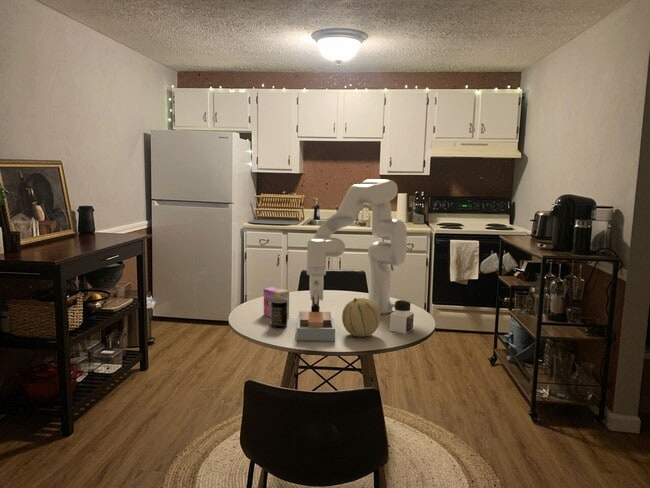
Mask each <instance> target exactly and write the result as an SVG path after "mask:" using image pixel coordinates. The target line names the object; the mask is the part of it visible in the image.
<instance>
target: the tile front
mask: <svg viewBox="0 0 650 488" xmlns="http://www.w3.org/2000/svg"><path fill="white" fill-rule="evenodd" d="M308 328H323V317H309V321H308Z"/></svg>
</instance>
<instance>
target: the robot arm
mask: <svg viewBox="0 0 650 488" xmlns="http://www.w3.org/2000/svg"><path fill="white" fill-rule="evenodd" d="M398 189H399V188H398V185H397V183H396V182H395V181H393V180H391V179H377V178H376V179H366V180H363V181H362V182H361V183H360V184H359V183H357V184H352V185H351V186H350V187H349V188H348V190H347V192H346V193H345V195H344V197H343V199H342V201H341V203H340V205H339V207H338V209H337V211H336V212H335V213H334V214H333V215H331V216H329V217H328V218H327V219H326V220H325V221H324V222H323V223H321V225H320V226H319V227H318V229H317V231H316V232H315V234H314V236H313V238H311V239H309V240H308V241H307V244H306V245H307V247H306V250H307V253H306V254H307V255H306V275H308V276H309V295H310V296H309V297H310V301H311V311H310V312H320V301H323V300H324V276H326V275H327V258H329V257H330V258H338V257H340V256H342V255H344V252H345V250H346V243H345V242H344V241H343V239H340V238H338V237H337V238H336V237H331V236H332V235H333V234H334V233H336V232H337V231H339V230H341V229H343V228H346V227H348V226H351V225H353V224H354V223H355V222H356V220H357V218H358V217H359V215H360V212H361V210H362V209H363V207H364V206H370V207H371V233H372V236H373V237H374V238H376V239H380V240H383V241H374V242H372V243H371V244H370V245H369V247H368V250H367V257H368V264H369V280H368V283H369V284H368V299H369V300H371V301H372V302H373V303H375V304H376V306H377V307H378V309H379V311H380V315H385V314H391V313H393V308H395V302H396V301H395V302H391V301H390V298H391V296H390V295H391V275H392V274H391V268H390V267H389V265H390V266H395V267H396V266H401V265H403V264H404V263H405V261H406V258H407V234H408V233H407V231H408V230H407V226H406V224H405V221H403V220H401V219H398V218H397V219H396V218H392V205H391V202H390V201H393V199H395V198H396V196H397V194H398ZM384 240H385V242H384ZM386 241H390V242H386Z"/></svg>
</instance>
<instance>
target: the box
mask: <svg viewBox="0 0 650 488" xmlns="http://www.w3.org/2000/svg"><path fill="white" fill-rule="evenodd" d="M274 299H285V300H287V301H288V307H287V319H288V318H290V290H288V289H287V290H286V289H284V288H283V289H282V288H278V287H275V286H271V287H270V286H269V287H266V288H263V316H266V317H270V318H271V300H274Z"/></svg>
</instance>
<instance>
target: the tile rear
mask: <svg viewBox="0 0 650 488" xmlns="http://www.w3.org/2000/svg"><path fill="white" fill-rule="evenodd" d="M308 312H309V317H323V312H324V311H319V312H311V311H308Z"/></svg>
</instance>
